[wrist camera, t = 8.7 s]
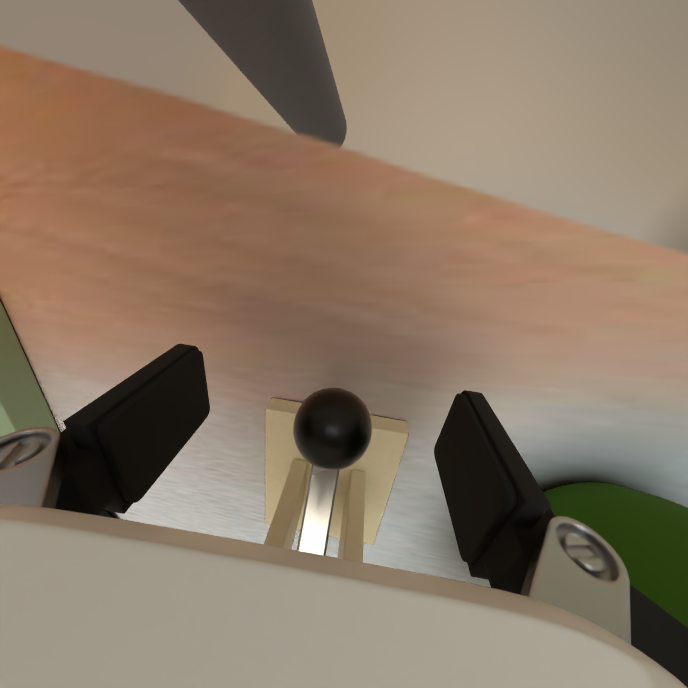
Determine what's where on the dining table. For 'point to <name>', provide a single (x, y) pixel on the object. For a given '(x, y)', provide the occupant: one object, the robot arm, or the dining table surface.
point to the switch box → (18, 386)
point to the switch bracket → (352, 487)
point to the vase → (636, 536)
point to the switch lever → (327, 455)
